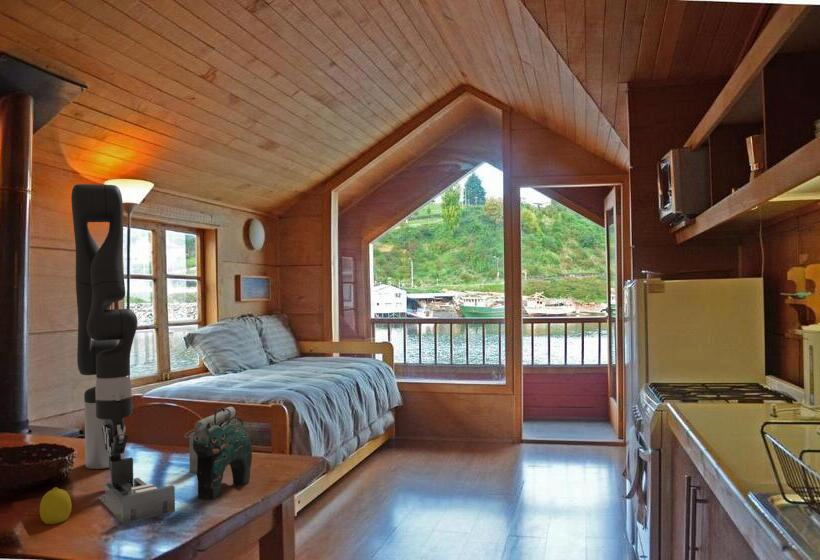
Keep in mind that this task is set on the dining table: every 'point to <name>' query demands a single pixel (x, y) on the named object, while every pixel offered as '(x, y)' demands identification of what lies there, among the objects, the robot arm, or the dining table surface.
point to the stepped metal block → (122, 475)
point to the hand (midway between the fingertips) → (115, 470)
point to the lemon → (55, 506)
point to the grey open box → (139, 502)
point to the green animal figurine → (221, 455)
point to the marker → (142, 488)
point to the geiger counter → (220, 418)
